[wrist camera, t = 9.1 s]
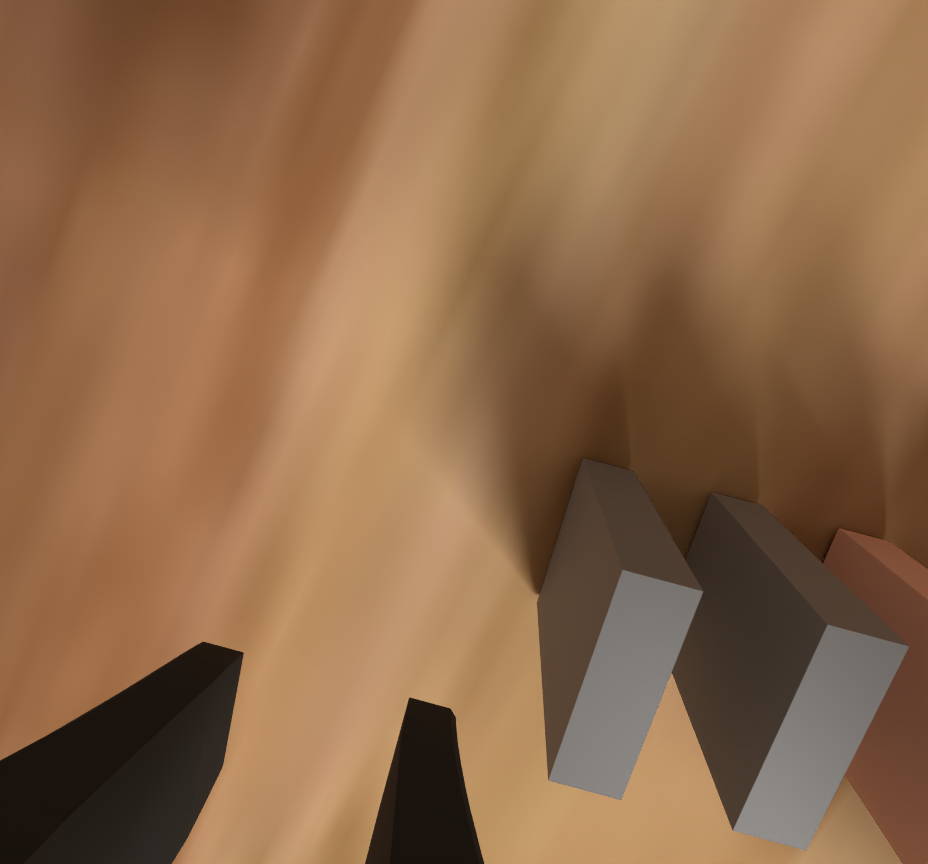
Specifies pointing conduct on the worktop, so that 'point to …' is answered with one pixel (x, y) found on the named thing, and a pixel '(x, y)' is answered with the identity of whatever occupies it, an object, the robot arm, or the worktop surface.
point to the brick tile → (893, 691)
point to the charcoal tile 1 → (609, 628)
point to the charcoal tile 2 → (777, 671)
